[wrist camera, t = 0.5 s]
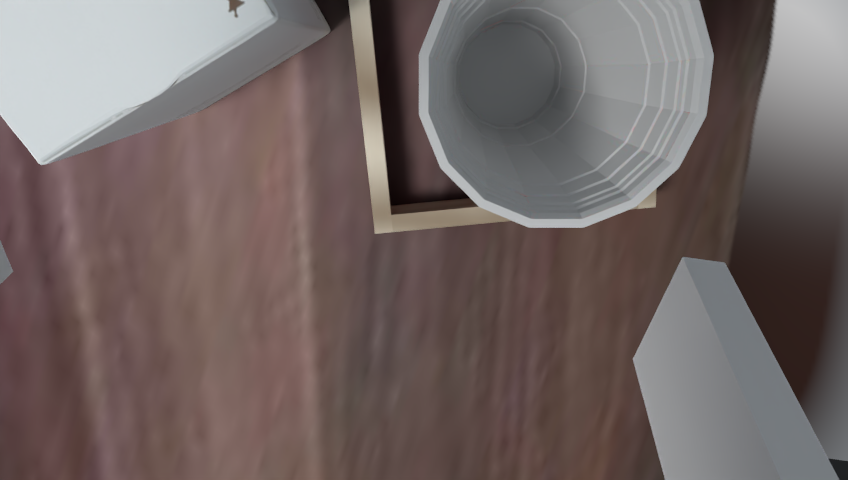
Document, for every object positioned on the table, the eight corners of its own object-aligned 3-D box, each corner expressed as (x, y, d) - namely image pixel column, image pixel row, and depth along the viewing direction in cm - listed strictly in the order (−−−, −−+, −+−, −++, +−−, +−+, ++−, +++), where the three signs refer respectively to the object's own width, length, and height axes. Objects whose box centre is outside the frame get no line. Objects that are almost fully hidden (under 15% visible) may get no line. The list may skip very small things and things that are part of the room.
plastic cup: (540, -81, 30) (635, -159, 18) (633, 99, 33) (763, 127, 22) (367, 42, 31) (355, 41, 20) (473, 203, 34) (515, 281, 23)
